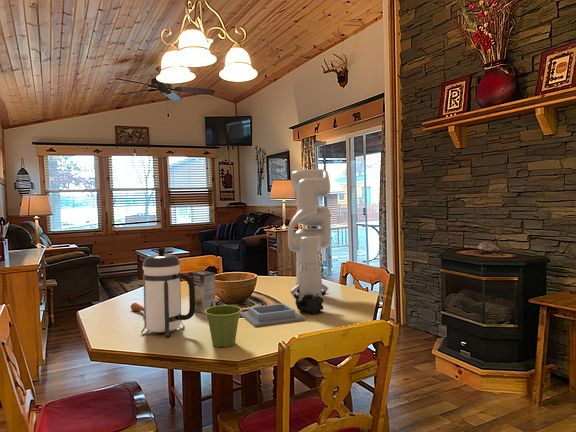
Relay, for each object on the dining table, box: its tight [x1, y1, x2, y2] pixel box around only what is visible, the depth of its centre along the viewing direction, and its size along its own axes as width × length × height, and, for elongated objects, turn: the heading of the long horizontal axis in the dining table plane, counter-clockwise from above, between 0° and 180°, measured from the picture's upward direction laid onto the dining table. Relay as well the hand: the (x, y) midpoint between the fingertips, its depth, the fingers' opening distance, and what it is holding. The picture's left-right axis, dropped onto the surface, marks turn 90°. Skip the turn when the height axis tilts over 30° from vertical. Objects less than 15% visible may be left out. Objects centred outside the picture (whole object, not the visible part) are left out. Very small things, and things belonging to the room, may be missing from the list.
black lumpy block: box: [295, 295, 324, 315], centre depth 178 cm, size 10×7×7 cm
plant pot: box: [205, 304, 243, 348], centre depth 140 cm, size 12×12×11 cm
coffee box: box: [190, 270, 217, 315], centre depth 182 cm, size 9×6×16 cm
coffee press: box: [140, 246, 196, 338], centre depth 153 cm, size 17×16×30 cm
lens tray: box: [240, 303, 306, 328], centre depth 170 cm, size 20×18×4 cm
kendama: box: [130, 302, 144, 313], centre depth 177 cm, size 6×6×20 cm
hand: (309, 308), depth 178 cm, fingers closed on black lumpy block, 8 cm apart
